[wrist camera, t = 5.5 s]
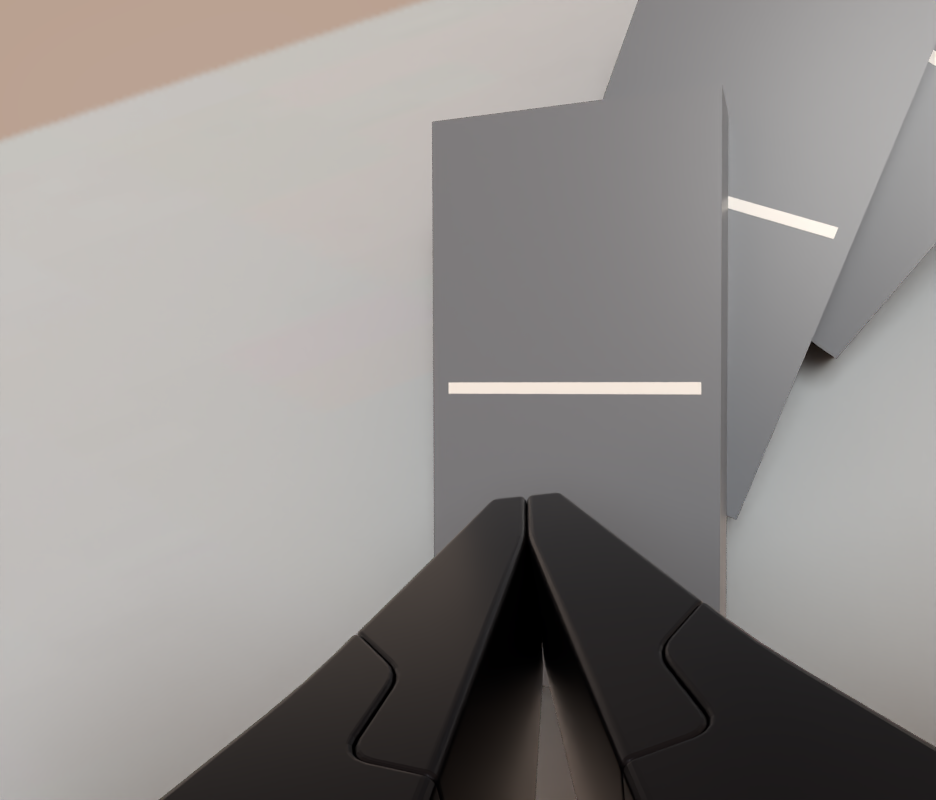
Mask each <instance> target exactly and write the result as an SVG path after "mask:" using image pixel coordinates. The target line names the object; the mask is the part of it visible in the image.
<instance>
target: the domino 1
mask: <svg viewBox="0 0 936 800" xmlns="http://www.w3.org/2000/svg"><path fill="white" fill-rule="evenodd" d="M728 124H729V115H728V110H727V105H726V100H725V95H724V90H723V86H722V84H720V85H713V86H705V87H697V88H689V89H682V90H674V91H666V92H659V93H651V94H643V95H635V96H628V97H620V98H612V99H605V100H597V101H589V102H581V103H574V104H566V105H558V106H550V107H543V108H535V109H527V110H520V111H512V112H504V113H496V114H489V115H481V116H473V117H466V118H458V119H450V120H442V121H435V122H432V190H433V402H434V557H435V556H436V555H437V554H438V553H439V552H440V551H441V550H442V549H443V548H444V547H445V546H446V545H447V544H448V543H449V542H450V541H451V540H452V539H453V538H454V537H455V536H456V535H457V534H458V533H459V532H460V531H461V530H462V529H463V528H464V527H465V526H466V525H467V524H468V523H469V522H471V521H472V520H473V519H474V518H475V517H476V516H477V515H478V514H479V513H480V512H481V511H482V510H483V509H484V508H485V507H486V506H487V505H488V504H489V503H490V502H491V501H492V500H494V499H499V498H508V497H518V496H521V497H524V498H525V499H526V502H527V499H528V497H529V496H531V495H537V494H546V493H560V494H562V495H564V496H565V497H566V498H568V499H569V500H570V501H572V502H573V503H574V504H576V505H577V506H578V507H579V508H581V509H582V510H583V511H585V512H586V513H587V514H589V515H590V516H591V517H593V518H594V519H595V520H597V521H598V522H599V523H600V524H602V525H603V526H604V527H606V528H607V529H608V530H610V531H611V532H612V533H614V534H615V535H616V536H618V537H619V538H620V539H621V540H623V541H624V542H625V543H627V544H628V545H629V546H631V547H632V548H633V549H635V550H636V551H637V552H639V553H640V554H641V555H642V556H644V557H645V558H646V559H648V560H649V561H650V562H652V563H653V564H654V565H656V566H657V567H658V568H659V569H661V570H662V571H663V572H665V573H666V574H667V575H669V576H670V577H671V578H673V579H674V580H675V581H677V582H678V583H679V584H680V585H682V586H683V587H684V588H686V589H687V590H688V591H690V592H691V593H692V594H694V595H695V596H696V597H698V598H699V599H700V600H701V601H702V602H703V603H707V604H709V605H710V606H711V607H712V608H714V609H715V610H716V611H718V612H719V613H720V614H722V615H723V616H724V617H726V534H727V329H728ZM542 651H543V647H542ZM543 686H544V687H549V683H548V678H547V673H546V668H545V662H544V655H543Z"/></svg>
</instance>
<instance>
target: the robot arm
mask: <svg viewBox="0 0 936 800" xmlns="http://www.w3.org/2000/svg"><path fill="white" fill-rule="evenodd" d="M542 647H543V651H542ZM543 655H544V662H545V668H546V673H547V678H548V683H549V687H550V691H551V695H552V699H553V703H554V707H555V711H556V716H557V720H558V724H559V728H560V732H561V736H562V740H563V745H564V749H565V753H566V757H567V761H568V765H569V769H570V774H571V778H572V782H573V786H574V790H575V794H576V798H577V800H936V747H935V746H933V745H931V744H930V743H928V742H926V741H925V740H923V739H921V738H919V737H918V736H916V735H914V734H913V733H911V732H909V731H908V730H906V729H904V728H902V727H901V726H899V725H897V724H896V723H894V722H892V721H891V720H889V719H887V718H886V717H884V716H882V715H880V714H879V713H877V712H875V711H874V710H872V709H870V708H869V707H867V706H865V705H863V704H862V703H860V702H858V701H857V700H855V699H853V698H852V697H850V696H848V695H847V694H845V693H843V692H841V691H840V690H838V689H836V688H835V687H833V686H831V685H830V684H828V683H826V682H824V681H823V680H821V679H819V678H818V677H816V676H814V675H813V674H811V673H809V672H807V671H806V670H804V669H803V668H801V667H799V666H798V665H796V664H795V663H793V662H791V661H790V660H788V659H787V658H785V657H783V656H782V655H780V654H778V653H777V652H775V651H774V650H772V649H770V648H769V647H767V646H766V645H764V644H762V643H761V642H759V641H758V640H757V639H755V638H754V637H752V636H751V635H750V634H748V633H747V632H745V631H744V630H743V629H741V628H740V627H738V626H737V625H735V624H734V623H733V622H731V621H730V620H728V619H727V618H726V617H724V616H723V615H722V614H720V613H719V612H718V611H716V610H715V609H714V608H712V607H711V606H710V605H709V604H707V603H703V602H702V601H701V600H700V599H699V598H698V597H696V596H695V595H694V594H692V593H691V592H690V591H688V590H687V589H686V588H684V587H683V586H682V585H680V584H679V583H678V582H677V581H675V580H674V579H673V578H671V577H670V576H669V575H667V574H666V573H665V572H663V571H662V570H661V569H659V568H658V567H657V566H656V565H654V564H653V563H652V562H650V561H649V560H648V559H646V558H645V557H644V556H642V555H641V554H640V553H639V552H637V551H636V550H635V549H633V548H632V547H631V546H629V545H628V544H627V543H625V542H624V541H623V540H621V539H620V538H619V537H618V536H616V535H615V534H614V533H612V532H611V531H610V530H608V529H607V528H606V527H604V526H603V525H602V524H600V523H599V522H598V521H597V520H595V519H594V518H593V517H591V516H590V515H589V514H587V513H586V512H585V511H583V510H582V509H581V508H579V507H578V506H577V505H576V504H574V503H573V502H572V501H570V500H569V499H568V498H566V497H565V496H564V495H562V494H560V493H546V494H537V495H531V496H529V497H528V499H527V502H526V499H525V498H524V497H521V496H518V497H508V498H499V499H494V500H492V501H491V502H490V503H489V504H488V505H487V506H486V507H485V508H484V509H483V510H482V511H481V512H480V513H479V514H478V515H477V516H476V517H475V518H474V519H473V520H472V521H471V522H469V523H468V524H467V525H466V526H465V527H464V528H463V529H462V530H461V531H460V532H459V533H458V534H457V535H456V536H455V537H454V538H453V539H452V540H451V541H450V542H449V543H448V544H447V545H446V546H445V547H444V548H443V549H442V550H441V551H440V552H439V553H438V554H437V555H436V556H435V557H434V558H433V559H432V560H431V561H430V562H429V563H428V564H427V565H426V566H425V567H424V568H423V569H422V570H421V571H420V572H419V573H418V574H417V575H416V576H415V577H414V578H413V579H412V580H411V581H410V582H409V583H408V584H407V585H406V586H405V587H404V588H403V589H402V590H401V591H400V592H399V593H398V594H397V595H396V596H395V597H393V598H392V599H391V600H390V601H389V602H388V603H387V604H386V605H385V606H384V607H383V608H382V609H381V610H380V611H379V612H378V613H377V614H376V615H375V616H374V617H373V618H372V619H371V620H370V621H369V622H368V623H367V624H366V625H365V626H364V627H363V628H362V629H361V630H360V631H359V632H358V635H354V636H352V637H351V638H350V639H349V640H348V641H347V642H346V643H345V644H344V645H343V646H342V647H341V648H340V649H339V650H338V651H337V652H336V653H335V654H334V655H333V656H332V657H331V658H330V659H329V660H327V661H326V662H325V663H324V664H323V665H322V666H321V667H320V668H319V669H318V670H317V671H316V672H315V673H313V674H312V675H311V676H310V677H309V678H308V679H307V680H306V681H305V682H304V683H303V684H301V685H300V686H299V687H298V688H297V689H295V690H294V691H293V692H292V693H291V694H289V695H288V696H287V697H286V698H285V699H283V700H282V701H281V702H280V703H279V704H278V705H276V706H275V707H274V708H273V709H272V710H270V711H269V712H268V713H267V714H266V715H264V716H263V717H262V718H261V719H259V720H258V721H257V722H256V723H254V724H253V725H252V726H251V727H249V728H248V729H247V730H246V731H244V732H243V733H242V734H241V735H239V736H238V737H237V738H236V739H234V740H233V741H232V742H231V743H229V744H228V745H227V746H226V747H224V748H223V749H222V750H221V751H219V752H218V753H217V754H216V755H214V756H213V757H212V758H211V759H209V760H208V761H207V762H206V763H204V764H203V765H202V766H201V767H199V768H198V769H197V770H196V771H194V772H193V773H192V774H191V775H189V776H188V777H187V778H186V779H185V780H183V781H182V782H181V783H180V784H178V785H177V786H176V787H175V788H173V789H172V790H171V791H170V792H168V793H167V794H166V795H165V796H163V797H162V798H161V799H160V800H535V797H536V781H537V765H538V749H539V733H540V718H541V702H542V686H543Z"/></svg>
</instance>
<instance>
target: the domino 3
mask: <svg viewBox="0 0 936 800" xmlns="http://www.w3.org/2000/svg"><path fill="white" fill-rule="evenodd" d="M935 243H936V45H935V47H934V49H933V52H932V54H931V56H930V59H929V61H928V64H927V66H926V68H925V71H924V73H923V76H922V78H921V80H920V83H919V85H918V87H917V90H916V92H915V95H914V97H913V99H912V102H911V104H910V107H909V109H908V111H907V114H906V116H905V119H904V121H903V123H902V126H901V128H900V130H899V133H898V135H897V138H896V140H895V142H894V145H893V147H892V150H891V152H890V154H889V157H888V159H887V161H886V164H885V166H884V169H883V171H882V173H881V176H880V178H879V181H878V183H877V185H876V188H875V190H874V193H873V195H872V197H871V200H870V202H869V204H868V207H867V209H866V212H865V214H864V216H863V219H862V221H861V224H860V226H859V228H858V231H857V233H856V235H855V238H854V240H853V243H852V245H851V247H850V250H849V252H848V255H847V257H846V259H845V262H844V264H843V267H842V269H841V271H840V274H839V276H838V278H837V281H836V283H835V286H834V288H833V290H832V293H831V295H830V298H829V300H828V302H827V305H826V307H825V309H824V312H823V314H822V317H821V319H820V321H819V324H818V326H817V329H816V331H815V333H814V336H813V338H812V342H813V343H815V344H816V345H817V346H819V347H820V348H822V349H823V350H824V351H826V352H827V353H829V354H830V355H832V356H833V357H834V358H837V357H838V356H839V355H840V354H841V353H842V351H843V350H844V349H845V348H846V347H847V346H848V344H849V343H850V342H851V341H852V340H853V339H854V337H855V336H856V335H857V334H858V333H859V332H860V330H861V329H862V328H863V327H864V326H865V325H866V324H867V322H868V321H869V320H870V319H871V318H872V317H873V315H874V314H875V313H876V312H877V311H878V310H879V308H880V307H881V306H882V305H883V304H884V303H885V301H886V300H887V299H888V298H889V297H890V296H891V295H892V293H893V292H894V291H895V290H896V289H897V288H898V286H899V285H900V284H901V283H902V282H903V281H904V279H905V278H906V277H907V276H908V275H909V274H910V272H911V271H912V270H913V269H914V268H915V267H916V266H917V264H918V263H919V262H920V261H921V260H922V259H923V257H924V256H925V255H926V254H927V253H928V252H929V250H930V249H931V248H932V247H933V246H934V245H935Z"/></svg>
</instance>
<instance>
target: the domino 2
mask: <svg viewBox="0 0 936 800" xmlns="http://www.w3.org/2000/svg"><path fill="white" fill-rule="evenodd" d="M935 45H936V0H638V2H637V5H636V8H635V11H634V14H633V16H632V19H631V22H630V25H629V28H628V30H627V33H626V36H625V39H624V41H623V44H622V47H621V50H620V53H619V55H618V58H617V61H616V64H615V67H614V69H613V72H612V75H611V78H610V80H609V83H608V86H607V89H606V92H605V94H604V97H603V100H605V99H612V98H620V97H628V96H635V95H643V94H651V93H659V92H666V91H674V90H682V89H689V88H697V87H705V86H713V85H720V84H722V86H723V90H724V95H725V100H726V105H727V110H728V115H729V124H728V329H727V516H729V517H731V518H734V519H736V520H737V517H738V515H739V512H740V510H741V508H742V505H743V503H744V500H745V498H746V496H747V493H748V491H749V489H750V486H751V484H752V481H753V479H754V477H755V474H756V472H757V469H758V467H759V465H760V462H761V460H762V457H763V455H764V453H765V450H766V448H767V446H768V443H769V441H770V438H771V436H772V434H773V431H774V429H775V426H776V424H777V422H778V419H779V417H780V415H781V412H782V410H783V407H784V405H785V403H786V400H787V398H788V395H789V393H790V391H791V388H792V386H793V383H794V381H795V379H796V376H797V374H798V372H799V369H800V367H801V364H802V362H803V360H804V357H805V355H806V352H807V350H808V348H809V345H810V343H811V341H812V338H813V336H814V333H815V331H816V329H817V326H818V324H819V321H820V319H821V317H822V314H823V312H824V309H825V307H826V305H827V302H828V300H829V298H830V295H831V293H832V290H833V288H834V286H835V283H836V281H837V278H838V276H839V274H840V271H841V269H842V267H843V264H844V262H845V259H846V257H847V255H848V252H849V250H850V247H851V245H852V243H853V240H854V238H855V235H856V233H857V231H858V228H859V226H860V224H861V221H862V219H863V216H864V214H865V212H866V209H867V207H868V204H869V202H870V200H871V197H872V195H873V193H874V190H875V188H876V185H877V183H878V181H879V178H880V176H881V173H882V171H883V169H884V166H885V164H886V161H887V159H888V157H889V154H890V152H891V150H892V147H893V145H894V142H895V140H896V138H897V135H898V133H899V130H900V128H901V126H902V123H903V121H904V119H905V116H906V114H907V111H908V109H909V107H910V104H911V102H912V99H913V97H914V95H915V92H916V90H917V87H918V85H919V83H920V80H921V78H922V76H923V73H924V71H925V68H926V66H927V64H928V61H929V59H930V56H931V54H932V52H933V49H934V47H935Z"/></svg>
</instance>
